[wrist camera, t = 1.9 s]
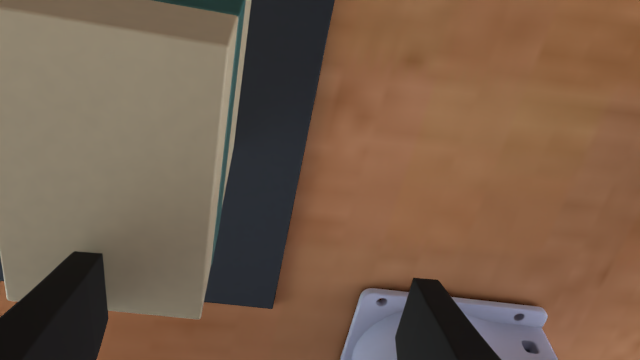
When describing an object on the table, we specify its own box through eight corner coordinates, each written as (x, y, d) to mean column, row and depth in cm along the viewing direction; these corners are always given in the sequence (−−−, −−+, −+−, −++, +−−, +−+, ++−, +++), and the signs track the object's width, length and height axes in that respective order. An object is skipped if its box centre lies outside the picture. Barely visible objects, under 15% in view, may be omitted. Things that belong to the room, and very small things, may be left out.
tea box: (257, -43, 17) (231, 44, 9) (234, 147, 21) (201, 321, 13) (111, -72, 16) (-44, -3, 9) (113, 130, 20) (5, 302, 12)
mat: (371, -188, 15) (372, -189, 15) (272, 304, 26) (272, 309, 25) (-296, -349, 13) (-308, -353, 13) (-112, 264, 23) (-116, 269, 23)
